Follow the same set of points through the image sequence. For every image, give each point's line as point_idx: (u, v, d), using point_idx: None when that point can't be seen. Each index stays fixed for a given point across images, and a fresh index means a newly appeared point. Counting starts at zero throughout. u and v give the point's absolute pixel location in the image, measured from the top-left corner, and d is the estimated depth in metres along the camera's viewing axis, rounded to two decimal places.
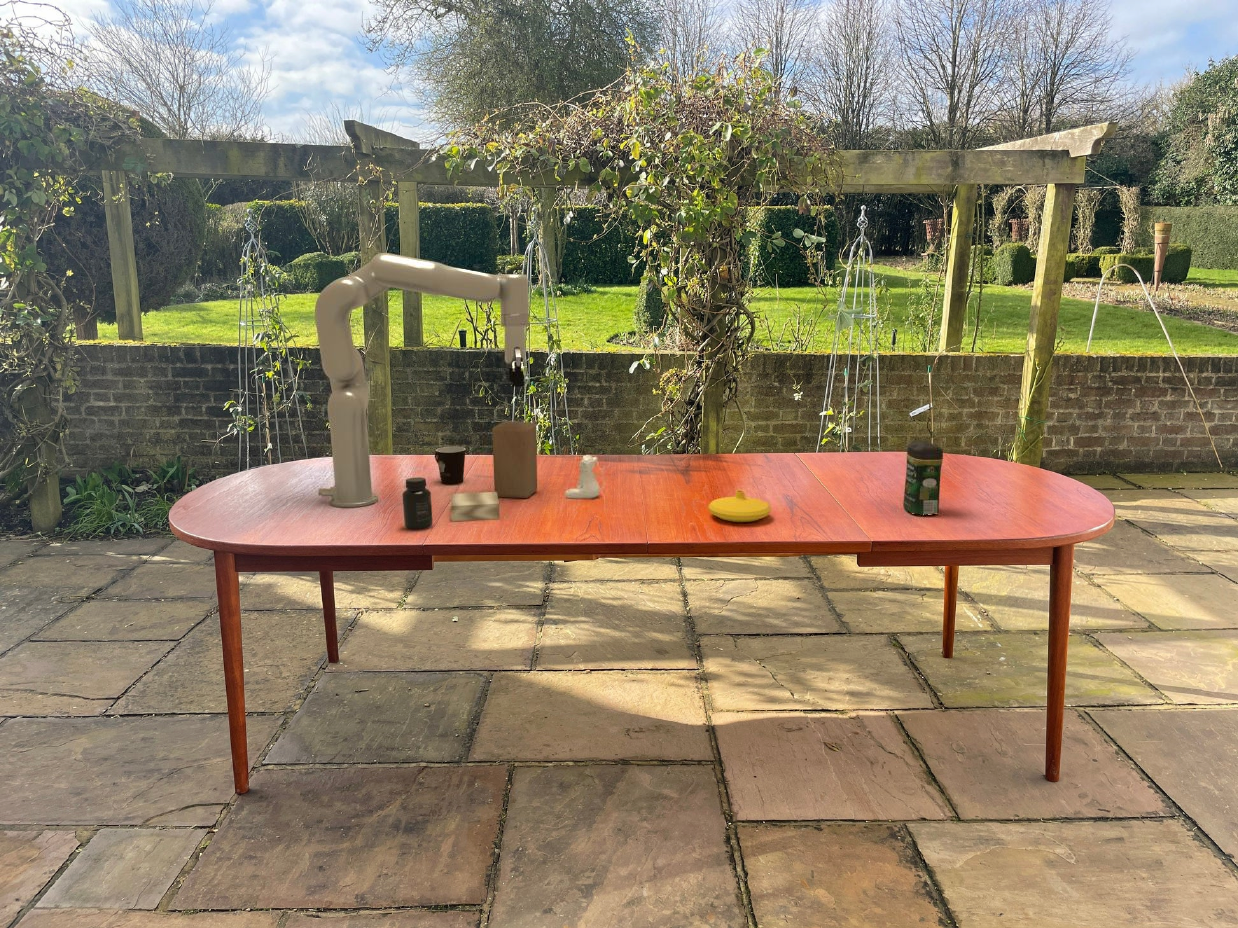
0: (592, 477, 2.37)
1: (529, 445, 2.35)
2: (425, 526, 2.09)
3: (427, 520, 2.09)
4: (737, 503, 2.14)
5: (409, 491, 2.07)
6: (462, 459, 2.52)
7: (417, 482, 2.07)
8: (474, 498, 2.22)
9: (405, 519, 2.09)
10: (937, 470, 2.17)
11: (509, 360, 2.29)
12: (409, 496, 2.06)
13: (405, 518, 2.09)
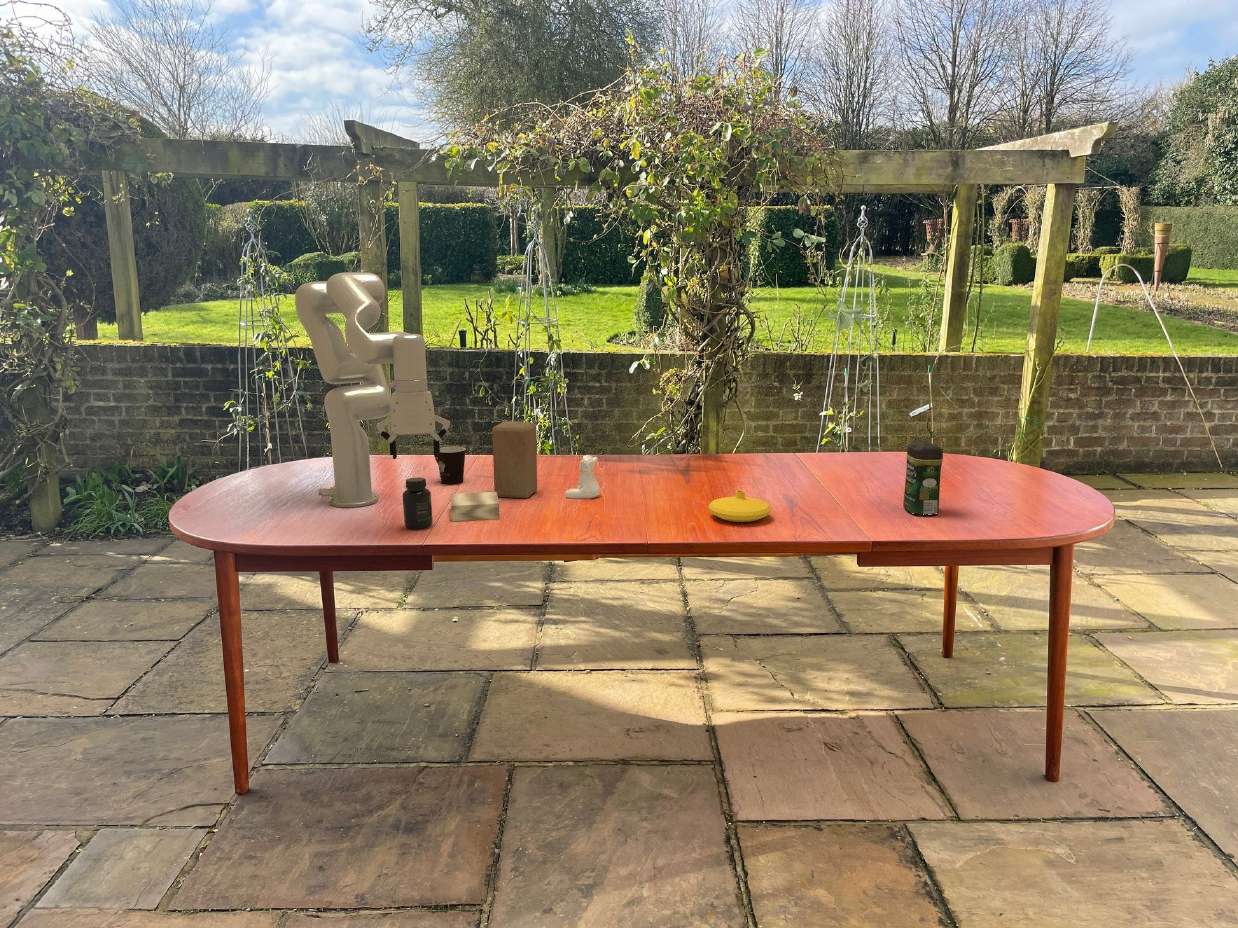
0: (592, 477, 2.37)
1: (529, 445, 2.35)
2: (425, 526, 2.09)
3: (427, 520, 2.09)
4: (737, 503, 2.14)
5: (409, 491, 2.07)
6: (462, 459, 2.52)
7: (417, 482, 2.07)
8: (474, 498, 2.22)
9: (405, 519, 2.09)
10: (937, 470, 2.17)
11: (434, 429, 2.05)
12: (409, 496, 2.06)
13: (405, 518, 2.09)
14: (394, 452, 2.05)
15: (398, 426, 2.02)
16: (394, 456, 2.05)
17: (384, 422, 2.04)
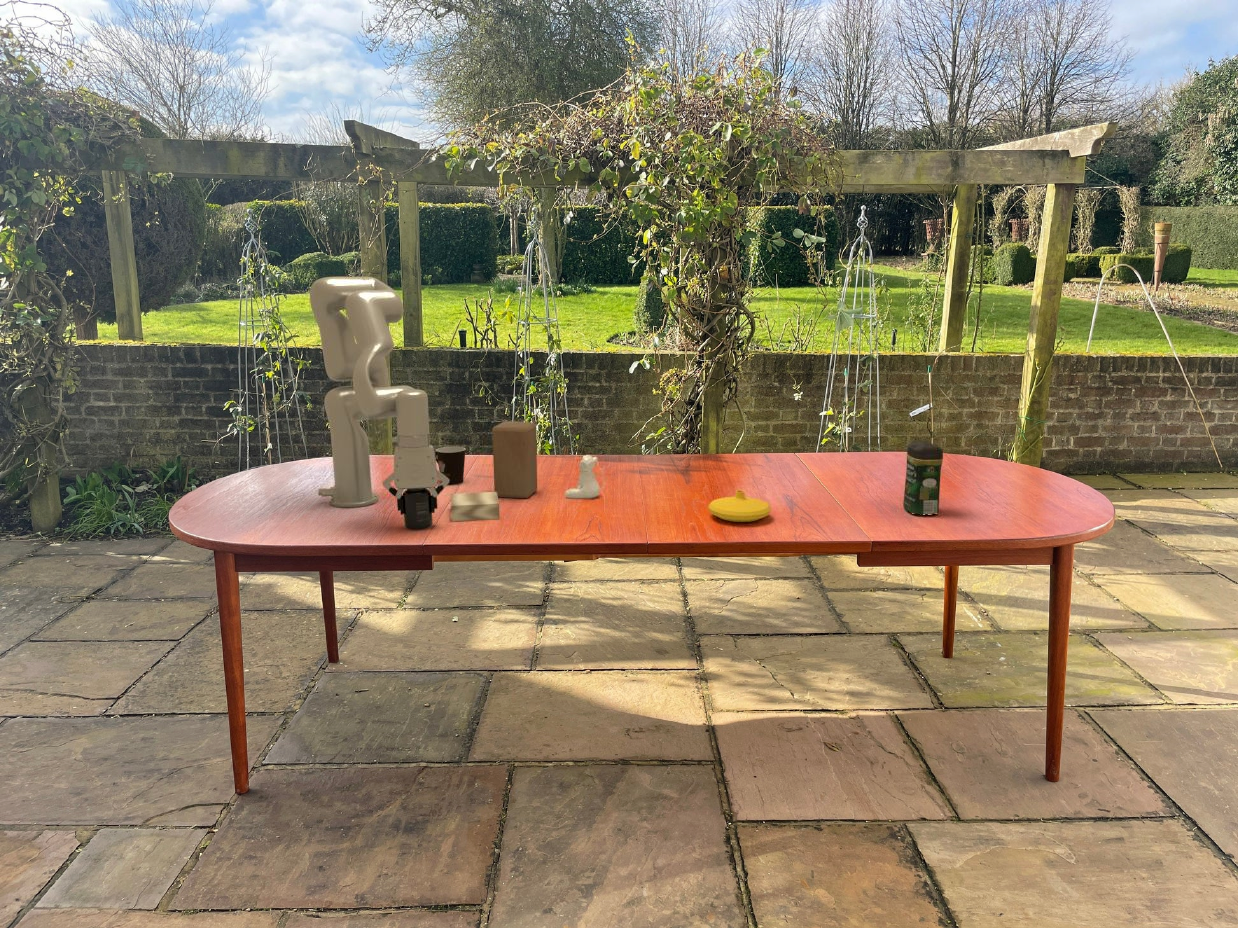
0: (592, 477, 2.37)
1: (529, 445, 2.35)
2: (425, 526, 2.09)
3: (427, 520, 2.09)
4: (737, 503, 2.14)
5: (409, 491, 2.07)
6: (462, 459, 2.52)
7: None
8: (474, 498, 2.22)
9: (405, 519, 2.09)
10: (937, 470, 2.17)
11: (436, 483, 2.08)
12: (409, 496, 2.06)
13: (405, 518, 2.09)
14: (402, 508, 2.08)
15: (401, 480, 2.05)
16: (402, 512, 2.08)
17: (389, 479, 2.07)
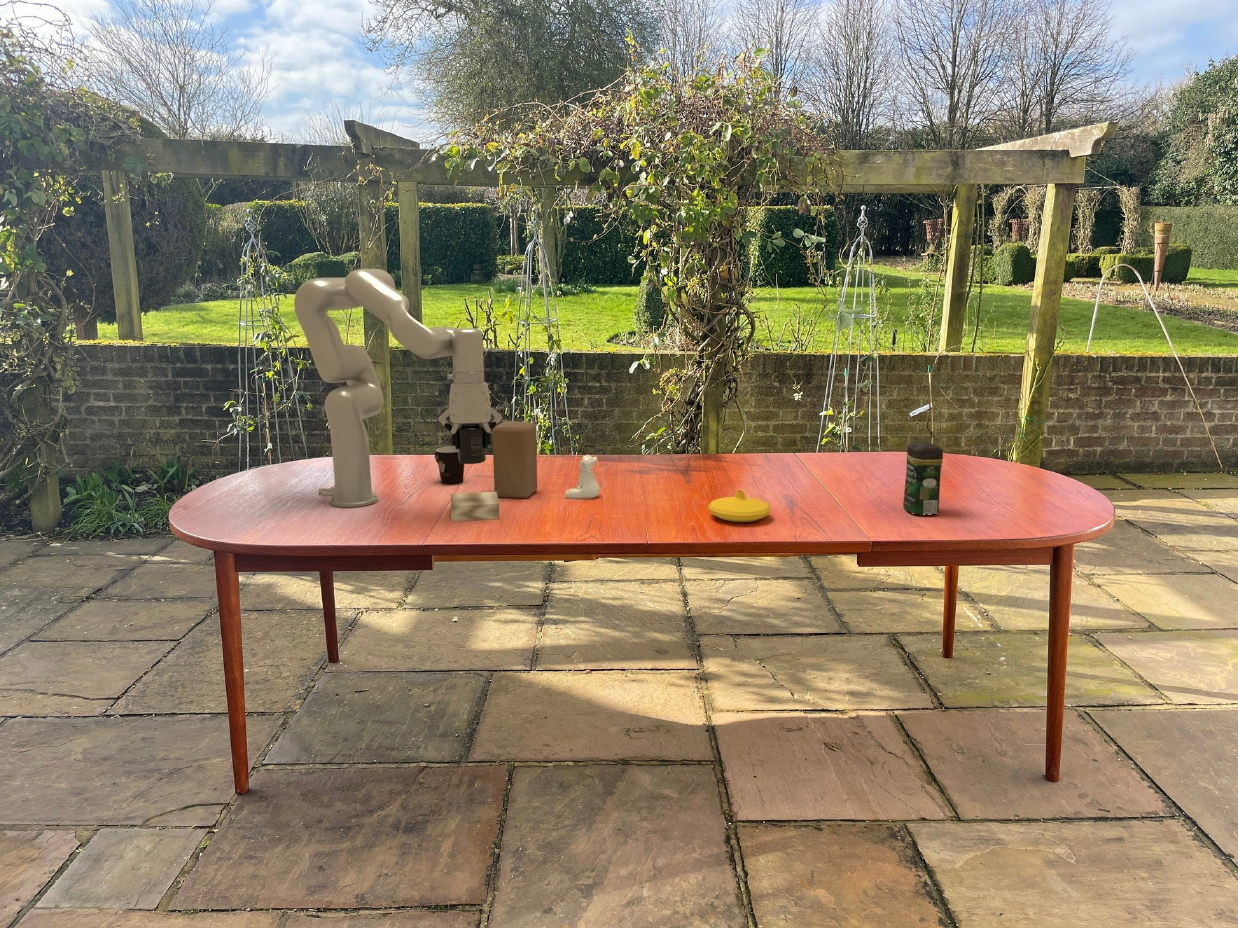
0: (592, 477, 2.37)
1: (529, 445, 2.35)
2: (479, 460, 2.17)
3: (481, 455, 2.17)
4: (737, 503, 2.14)
5: (464, 426, 2.15)
6: None
7: None
8: (474, 498, 2.22)
9: (460, 454, 2.17)
10: (937, 470, 2.17)
11: (490, 418, 2.16)
12: (464, 431, 2.14)
13: (460, 453, 2.17)
14: (456, 443, 2.16)
15: (456, 415, 2.13)
16: (456, 446, 2.16)
17: (445, 414, 2.15)
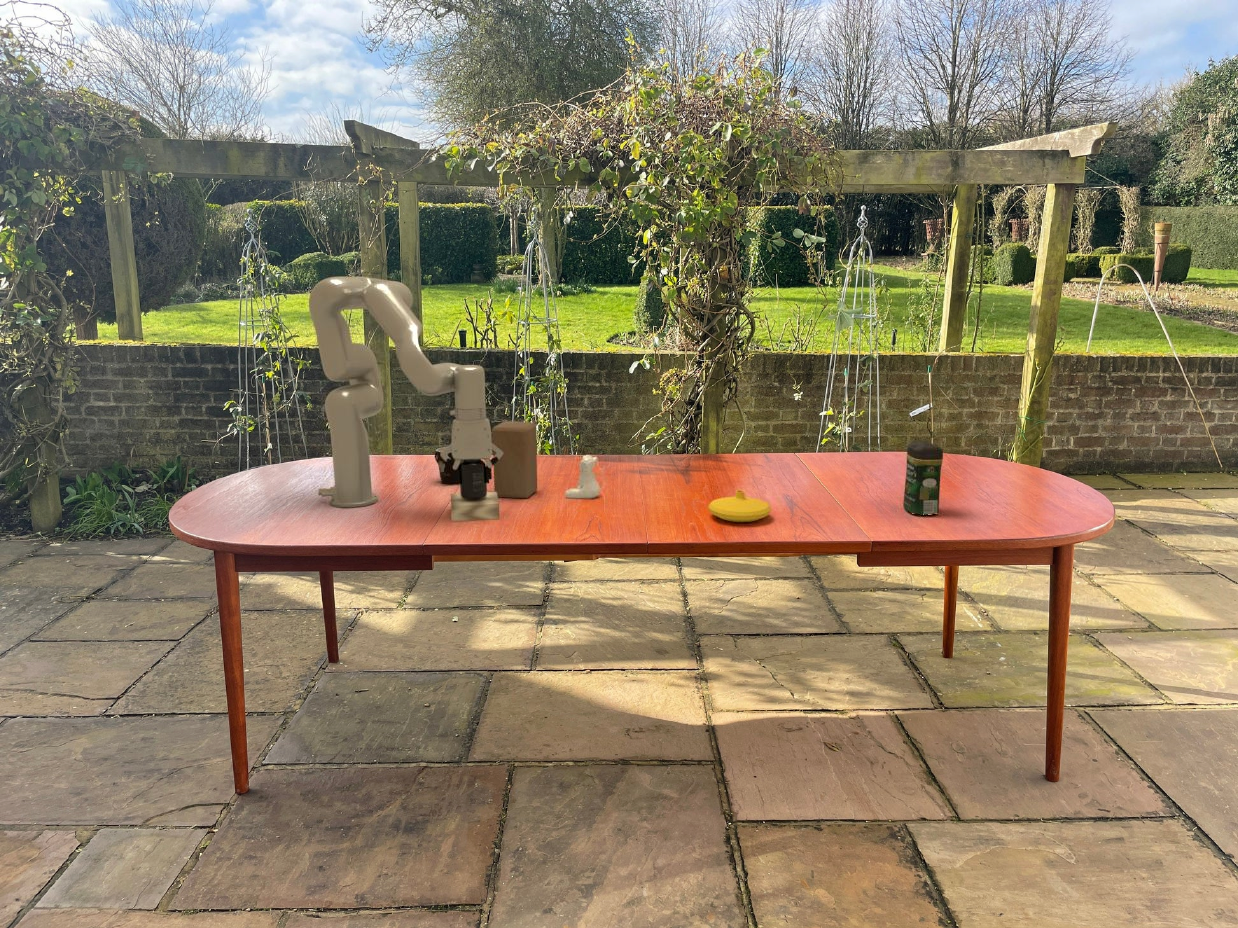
0: (592, 477, 2.37)
1: (529, 445, 2.35)
2: (480, 496, 2.19)
3: (482, 490, 2.19)
4: (737, 503, 2.14)
5: (465, 462, 2.17)
6: None
7: None
8: None
9: (461, 489, 2.19)
10: (937, 470, 2.17)
11: None
12: (466, 466, 2.17)
13: (461, 488, 2.19)
14: (458, 478, 2.18)
15: (458, 451, 2.15)
16: (458, 482, 2.18)
17: (447, 450, 2.17)
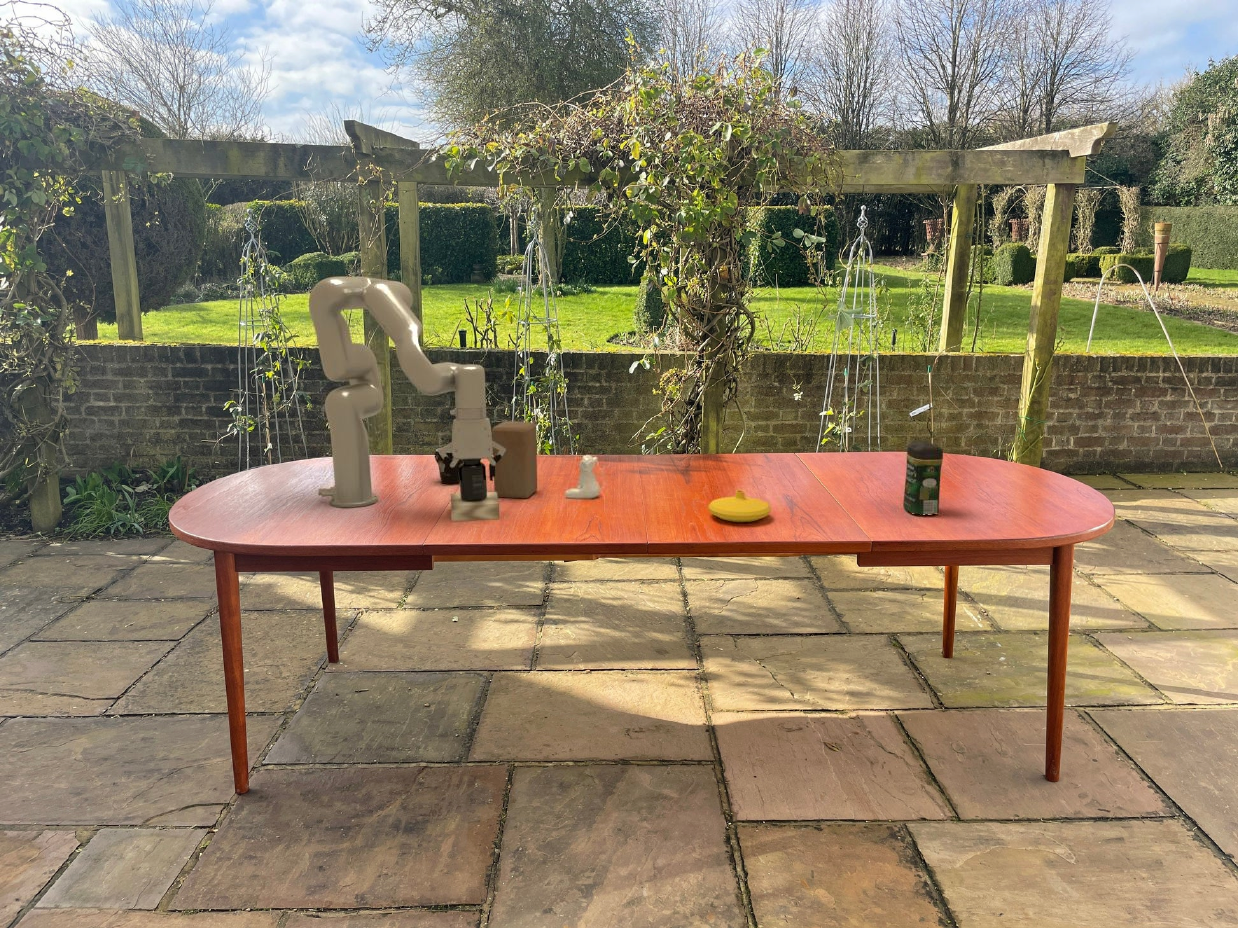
0: (592, 477, 2.37)
1: (529, 445, 2.35)
2: (480, 498, 2.19)
3: (482, 492, 2.19)
4: (737, 503, 2.14)
5: (465, 464, 2.17)
6: None
7: None
8: None
9: (461, 491, 2.19)
10: (937, 470, 2.17)
11: (492, 453, 2.18)
12: (466, 469, 2.17)
13: (461, 490, 2.19)
14: (456, 476, 2.18)
15: (459, 451, 2.15)
16: (456, 480, 2.18)
17: (446, 448, 2.17)
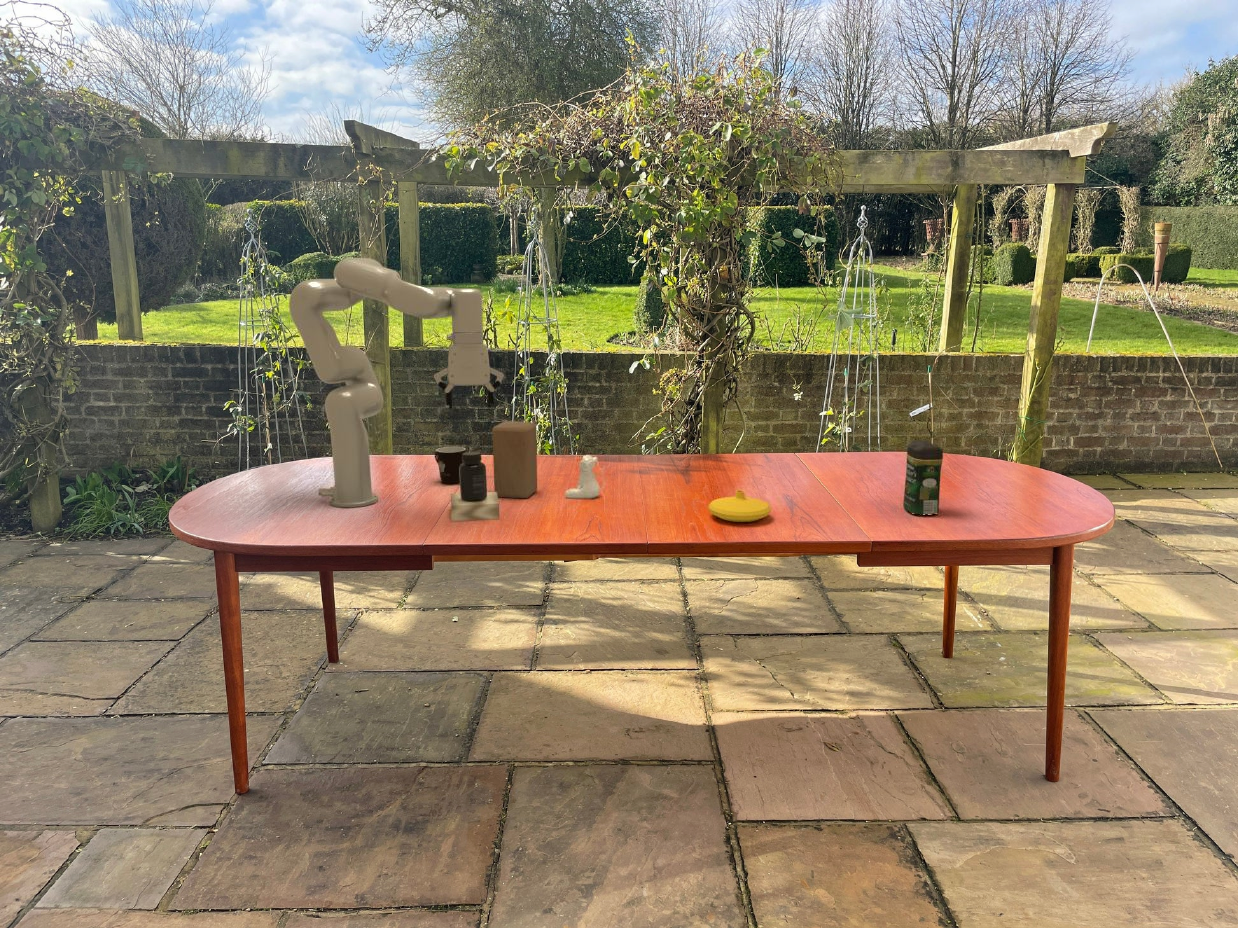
0: (592, 477, 2.37)
1: (529, 445, 2.35)
2: (481, 498, 2.19)
3: (482, 492, 2.19)
4: (737, 503, 2.14)
5: (465, 464, 2.18)
6: None
7: (474, 456, 2.17)
8: None
9: (461, 491, 2.19)
10: (937, 470, 2.17)
11: (489, 380, 2.14)
12: (466, 469, 2.17)
13: (461, 490, 2.19)
14: (450, 402, 2.14)
15: (455, 376, 2.11)
16: (450, 406, 2.14)
17: (441, 373, 2.13)
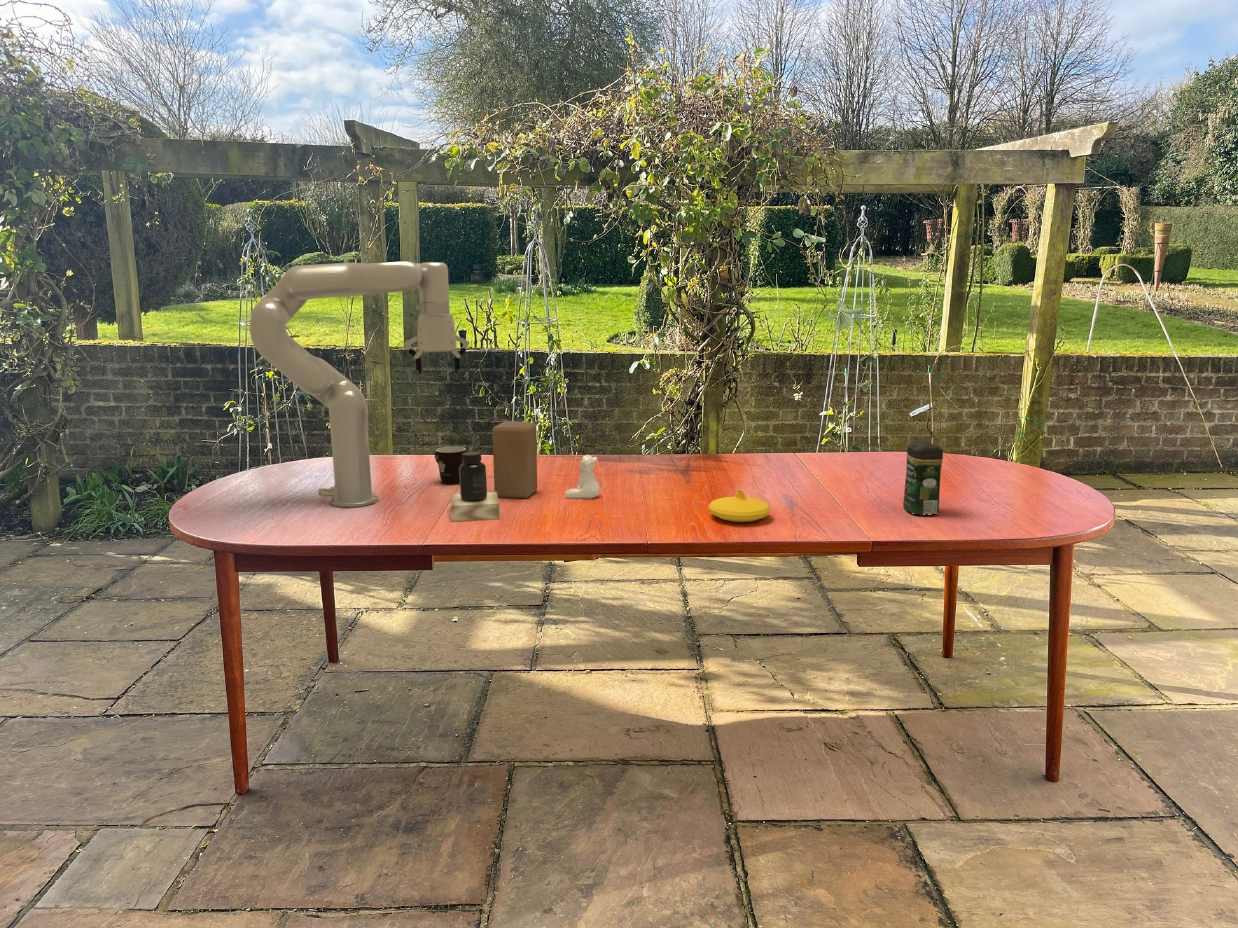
0: (592, 477, 2.37)
1: (529, 445, 2.35)
2: (481, 498, 2.19)
3: (482, 492, 2.19)
4: (737, 503, 2.14)
5: (465, 464, 2.17)
6: None
7: (473, 456, 2.17)
8: None
9: (461, 491, 2.19)
10: (937, 470, 2.17)
11: (455, 347, 2.32)
12: (466, 469, 2.17)
13: (461, 490, 2.19)
14: (420, 367, 2.32)
15: (424, 343, 2.29)
16: (420, 371, 2.32)
17: (411, 340, 2.31)
